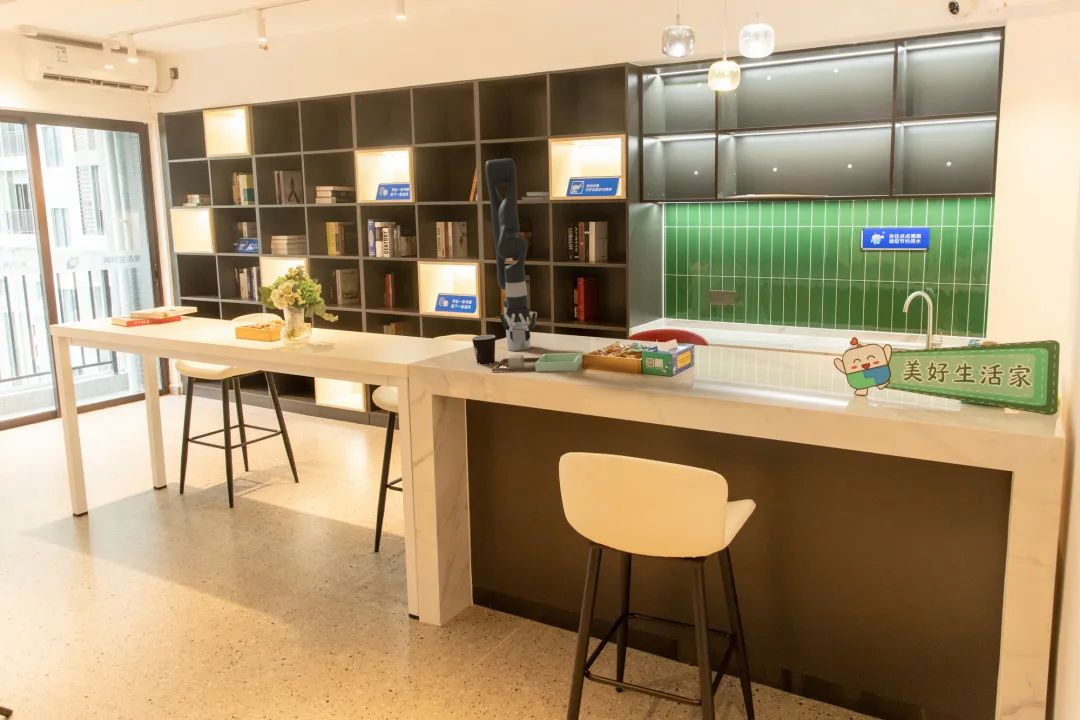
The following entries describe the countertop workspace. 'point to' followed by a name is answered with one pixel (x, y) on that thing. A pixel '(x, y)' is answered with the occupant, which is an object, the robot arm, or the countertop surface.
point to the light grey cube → (516, 361)
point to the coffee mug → (484, 348)
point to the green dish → (559, 362)
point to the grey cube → (519, 335)
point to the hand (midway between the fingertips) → (520, 340)
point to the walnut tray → (528, 364)
